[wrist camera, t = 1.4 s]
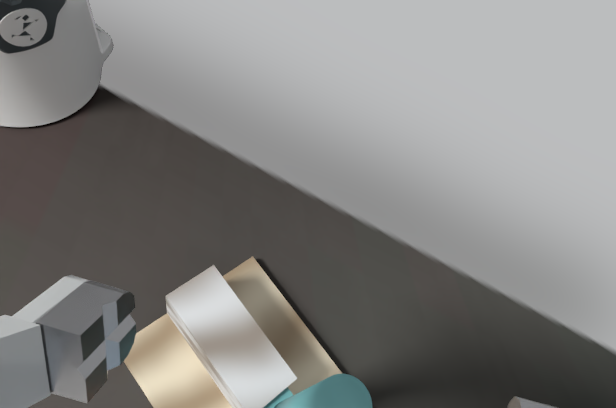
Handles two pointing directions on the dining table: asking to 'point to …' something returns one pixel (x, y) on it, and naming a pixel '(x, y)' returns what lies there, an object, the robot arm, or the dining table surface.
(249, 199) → the dining table surface
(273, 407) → the tube
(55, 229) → the dining table surface
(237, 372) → the tube fixture
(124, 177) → the dining table surface
